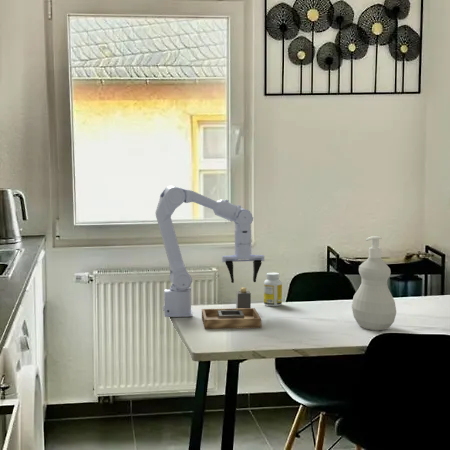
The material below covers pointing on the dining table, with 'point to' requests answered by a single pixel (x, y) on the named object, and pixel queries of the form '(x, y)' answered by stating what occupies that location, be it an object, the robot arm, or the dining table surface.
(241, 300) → the connector plug
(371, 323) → the soap bottle
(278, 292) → the pill bottle
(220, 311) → the collar
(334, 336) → the dining table surface
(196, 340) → the dining table surface
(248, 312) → the walled box
